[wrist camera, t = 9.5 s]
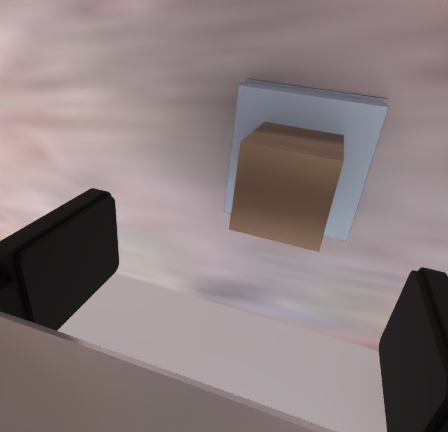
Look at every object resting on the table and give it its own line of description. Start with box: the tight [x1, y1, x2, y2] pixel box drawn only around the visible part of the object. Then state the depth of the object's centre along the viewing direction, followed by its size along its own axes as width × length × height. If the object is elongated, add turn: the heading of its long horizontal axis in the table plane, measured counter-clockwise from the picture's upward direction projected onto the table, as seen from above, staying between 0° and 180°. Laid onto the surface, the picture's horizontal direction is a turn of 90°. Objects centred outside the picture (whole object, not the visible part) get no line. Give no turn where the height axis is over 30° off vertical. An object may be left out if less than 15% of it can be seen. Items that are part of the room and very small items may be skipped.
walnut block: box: [229, 122, 344, 252], centre depth 20 cm, size 5×5×6 cm
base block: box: [224, 79, 388, 241], centre depth 24 cm, size 9×9×3 cm
